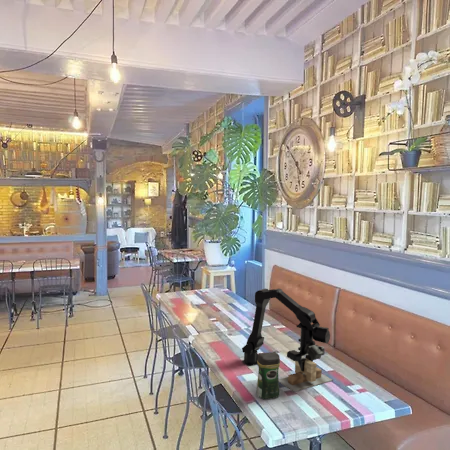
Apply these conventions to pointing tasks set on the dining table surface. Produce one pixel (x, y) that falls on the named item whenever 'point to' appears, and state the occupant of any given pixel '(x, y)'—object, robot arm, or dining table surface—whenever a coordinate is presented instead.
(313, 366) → the birch plate
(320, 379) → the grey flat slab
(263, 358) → the coffee jar
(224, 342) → the dining table surface
